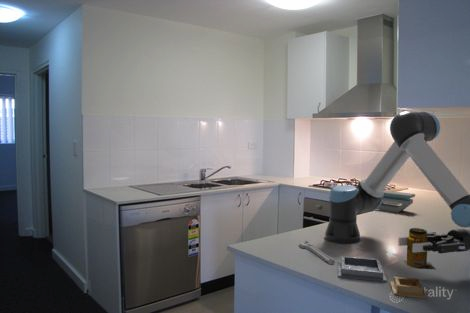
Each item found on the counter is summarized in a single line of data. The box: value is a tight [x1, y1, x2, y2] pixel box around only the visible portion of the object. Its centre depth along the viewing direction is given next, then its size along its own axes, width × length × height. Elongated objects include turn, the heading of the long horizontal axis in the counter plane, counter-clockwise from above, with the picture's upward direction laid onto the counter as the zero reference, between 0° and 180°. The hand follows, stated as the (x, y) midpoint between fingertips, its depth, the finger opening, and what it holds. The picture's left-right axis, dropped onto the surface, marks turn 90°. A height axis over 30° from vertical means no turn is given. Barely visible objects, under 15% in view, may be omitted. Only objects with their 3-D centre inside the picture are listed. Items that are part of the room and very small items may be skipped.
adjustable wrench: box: [299, 240, 336, 265], centre depth 149 cm, size 25×6×2 cm, turn 10°
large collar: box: [337, 255, 388, 283], centre depth 130 cm, size 15×15×3 cm
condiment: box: [402, 227, 437, 271], centre depth 124 cm, size 7×8×12 cm
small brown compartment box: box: [389, 276, 428, 300], centre depth 115 cm, size 9×9×3 cm
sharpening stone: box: [376, 189, 416, 213], centre depth 227 cm, size 25×8×11 cm, turn 45°
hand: (406, 244), depth 123 cm, fingers closed on condiment, 6 cm apart
